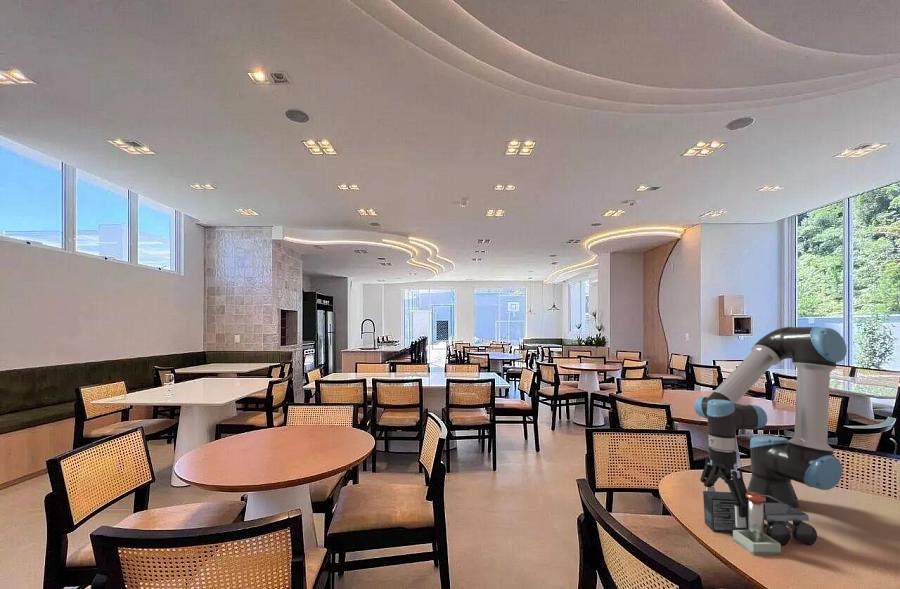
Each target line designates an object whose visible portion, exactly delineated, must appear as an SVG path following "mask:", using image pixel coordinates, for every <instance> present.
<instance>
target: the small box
mask: <svg viewBox="0 0 900 589" xmlns="http://www.w3.org/2000/svg"><path fill="white" fill-rule="evenodd" d="M702 496H703V497H702V498H703V499H702V500H703V510H704V511H703V513H704V514H703V516H704V524H705V525H706V526H707V527H708V528H709V529H710V530H711V531H712V532H714V533H728V534H733V530H748V516H747V507H746V528H737V527H736V524H735V504H737V503H736V501H735V499H734V497H733V495H732V493H731V491H730V492H729V491H715V492H714V491H705V490H703V491H702ZM739 501H740V500H739Z"/></svg>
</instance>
